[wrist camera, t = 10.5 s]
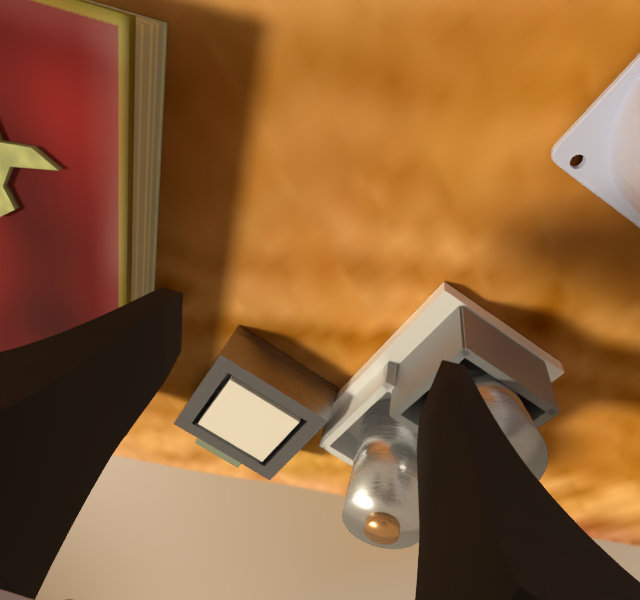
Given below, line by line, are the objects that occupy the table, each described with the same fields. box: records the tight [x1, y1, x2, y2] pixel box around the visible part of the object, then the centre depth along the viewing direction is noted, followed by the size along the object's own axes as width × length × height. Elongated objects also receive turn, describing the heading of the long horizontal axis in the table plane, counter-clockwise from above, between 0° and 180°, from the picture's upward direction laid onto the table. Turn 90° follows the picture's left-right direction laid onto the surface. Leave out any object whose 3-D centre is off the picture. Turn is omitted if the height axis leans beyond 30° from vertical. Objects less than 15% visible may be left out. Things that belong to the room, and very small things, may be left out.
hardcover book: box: [0, 0, 168, 436], centre depth 23 cm, size 12×21×4 cm, turn 166°
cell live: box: [342, 399, 419, 549], centre depth 23 cm, size 4×4×6 cm
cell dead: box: [428, 358, 548, 481], centre depth 20 cm, size 4×4×6 cm
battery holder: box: [319, 282, 564, 466], centre depth 24 cm, size 7×11×4 cm, turn 147°
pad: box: [198, 375, 301, 462], centre depth 26 cm, size 4×4×1 cm
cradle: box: [174, 326, 337, 480], centre depth 27 cm, size 6×8×3 cm
